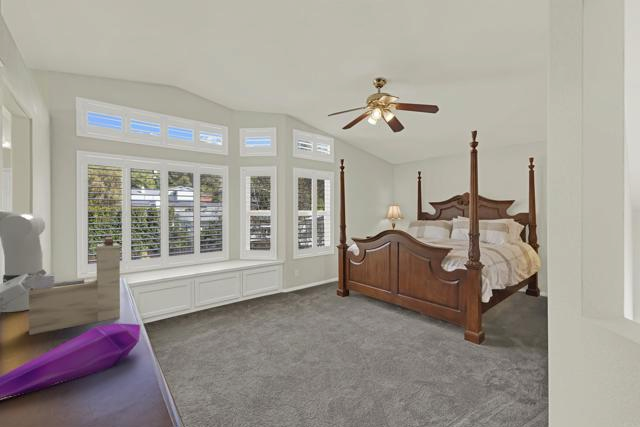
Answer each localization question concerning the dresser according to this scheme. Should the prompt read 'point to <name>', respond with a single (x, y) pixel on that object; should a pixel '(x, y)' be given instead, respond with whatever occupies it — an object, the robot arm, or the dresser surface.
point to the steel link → (49, 282)
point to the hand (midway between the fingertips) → (43, 273)
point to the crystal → (73, 359)
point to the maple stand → (79, 296)
